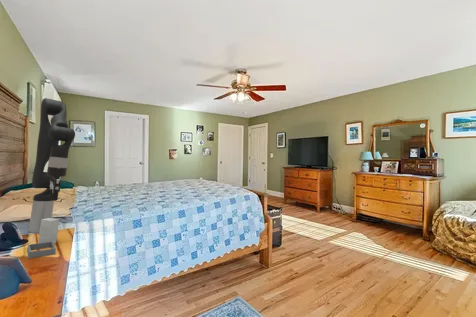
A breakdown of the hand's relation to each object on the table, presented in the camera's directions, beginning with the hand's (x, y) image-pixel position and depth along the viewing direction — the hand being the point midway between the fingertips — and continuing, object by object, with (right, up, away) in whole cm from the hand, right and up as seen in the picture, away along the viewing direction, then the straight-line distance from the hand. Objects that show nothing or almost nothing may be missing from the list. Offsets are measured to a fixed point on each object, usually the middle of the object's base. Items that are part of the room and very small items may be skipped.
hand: (53, 198), depth 111 cm
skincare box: (-2, -22, -1) cm, 22 cm away
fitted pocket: (+3, -22, -11) cm, 25 cm away
